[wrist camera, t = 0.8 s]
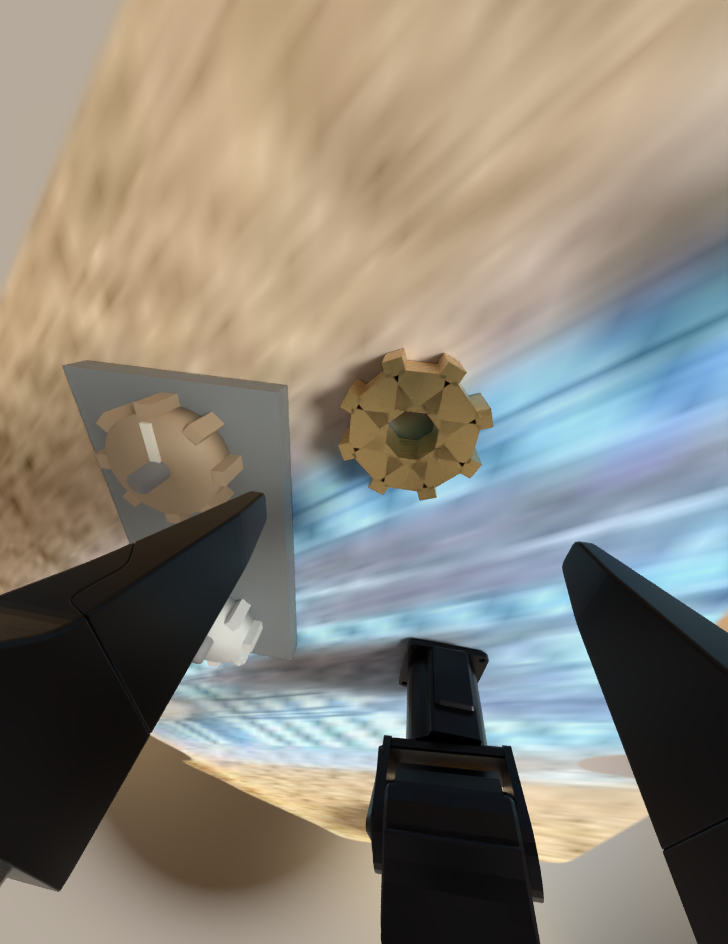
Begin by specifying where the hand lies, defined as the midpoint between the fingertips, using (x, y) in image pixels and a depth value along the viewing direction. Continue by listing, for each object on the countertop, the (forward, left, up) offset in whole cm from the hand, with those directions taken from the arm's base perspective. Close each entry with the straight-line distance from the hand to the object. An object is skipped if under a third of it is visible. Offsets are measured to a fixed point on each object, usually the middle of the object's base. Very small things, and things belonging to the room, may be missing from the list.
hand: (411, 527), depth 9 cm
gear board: (-11, +13, -9) cm, 19 cm away
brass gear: (0, 0, -9) cm, 9 cm away
